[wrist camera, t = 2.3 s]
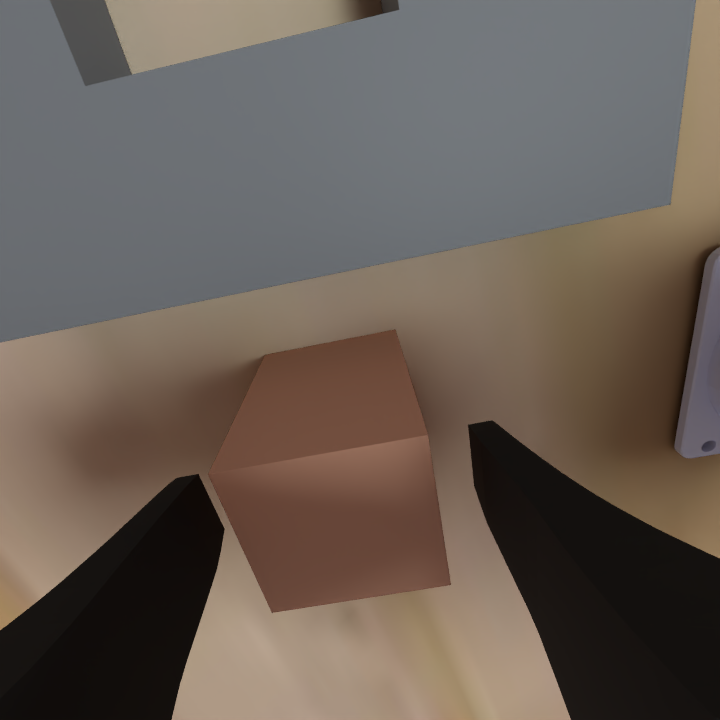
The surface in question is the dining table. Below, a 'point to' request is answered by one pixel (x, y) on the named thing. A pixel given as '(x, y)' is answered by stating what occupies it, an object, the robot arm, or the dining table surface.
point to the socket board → (318, 146)
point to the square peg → (333, 476)
